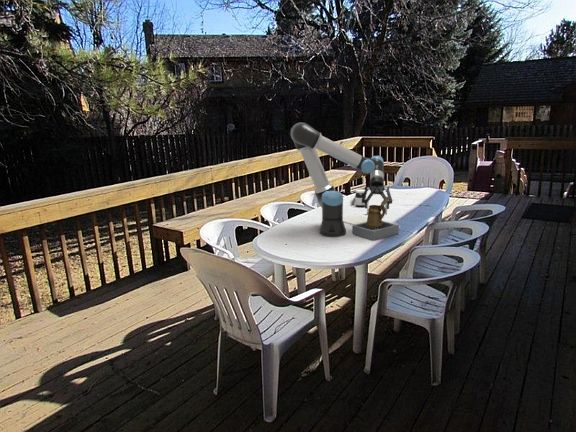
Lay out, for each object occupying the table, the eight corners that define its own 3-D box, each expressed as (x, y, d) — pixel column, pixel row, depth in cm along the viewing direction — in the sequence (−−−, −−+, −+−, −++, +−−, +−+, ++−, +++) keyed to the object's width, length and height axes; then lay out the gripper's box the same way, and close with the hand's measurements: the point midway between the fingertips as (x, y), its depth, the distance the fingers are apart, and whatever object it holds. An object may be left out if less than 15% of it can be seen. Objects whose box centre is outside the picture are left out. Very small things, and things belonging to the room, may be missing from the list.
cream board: (355, 225, 259) (355, 224, 259) (335, 219, 273) (335, 218, 273) (375, 220, 269) (375, 219, 269) (355, 215, 283) (355, 214, 283)
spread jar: (365, 207, 303) (366, 191, 300) (349, 207, 305) (349, 191, 302) (365, 204, 315) (366, 188, 312) (350, 203, 317) (350, 188, 314)
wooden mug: (384, 229, 231) (385, 197, 227) (362, 225, 240) (363, 194, 236) (392, 226, 238) (393, 194, 233) (371, 222, 247) (371, 191, 242)
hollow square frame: (373, 240, 229) (373, 231, 228) (352, 234, 242) (352, 225, 240) (398, 233, 240) (398, 225, 239) (376, 227, 253) (377, 219, 252)
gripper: (396, 184, 247) (396, 217, 236) (357, 183, 251) (356, 216, 240) (397, 176, 241) (398, 210, 230) (357, 175, 245) (356, 209, 233)
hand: (376, 213), depth 235 cm, fingers closed on wooden mug, 9 cm apart
